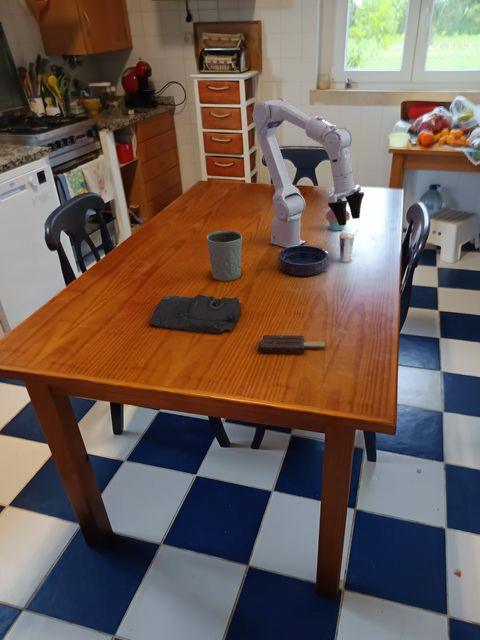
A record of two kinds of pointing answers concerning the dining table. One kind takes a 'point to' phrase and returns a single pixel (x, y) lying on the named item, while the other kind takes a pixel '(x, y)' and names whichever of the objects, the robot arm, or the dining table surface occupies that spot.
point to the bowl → (303, 260)
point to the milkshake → (346, 245)
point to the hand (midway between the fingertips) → (349, 221)
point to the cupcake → (335, 220)
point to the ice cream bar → (286, 344)
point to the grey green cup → (225, 254)
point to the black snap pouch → (197, 313)
